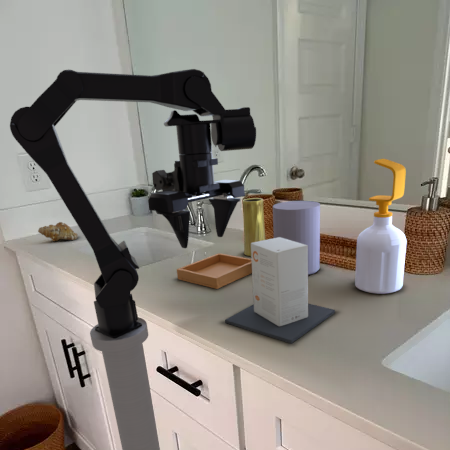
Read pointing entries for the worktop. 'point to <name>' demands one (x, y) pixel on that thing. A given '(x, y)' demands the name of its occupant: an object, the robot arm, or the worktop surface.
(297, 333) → the mat
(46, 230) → the seashell
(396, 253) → the soap bottle
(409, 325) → the worktop surface
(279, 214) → the container
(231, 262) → the tray
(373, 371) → the worktop surface
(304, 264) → the small box
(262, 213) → the vase
